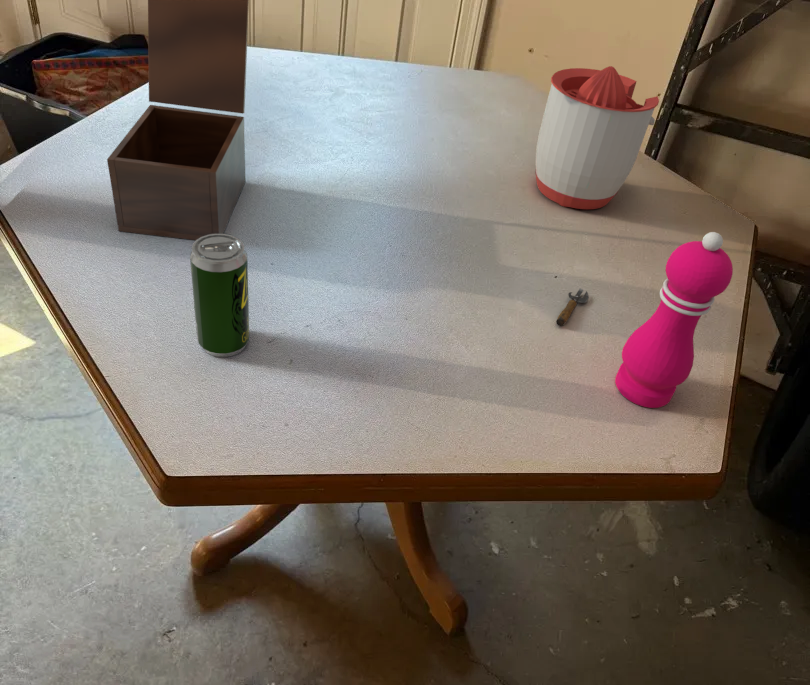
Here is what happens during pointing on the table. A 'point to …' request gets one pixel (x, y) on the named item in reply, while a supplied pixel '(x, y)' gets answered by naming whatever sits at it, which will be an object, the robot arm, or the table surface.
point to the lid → (198, 53)
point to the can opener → (571, 306)
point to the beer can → (220, 294)
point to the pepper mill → (674, 323)
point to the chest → (178, 173)
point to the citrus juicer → (589, 136)
